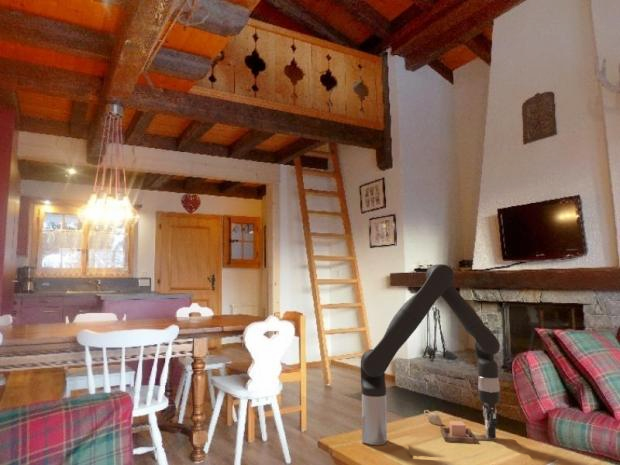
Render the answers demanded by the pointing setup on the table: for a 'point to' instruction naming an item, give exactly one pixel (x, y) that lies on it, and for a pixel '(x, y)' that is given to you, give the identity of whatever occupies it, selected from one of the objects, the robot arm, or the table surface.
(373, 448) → the table surface
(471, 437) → the tray
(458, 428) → the terracotta cube
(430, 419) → the decorative ornament
